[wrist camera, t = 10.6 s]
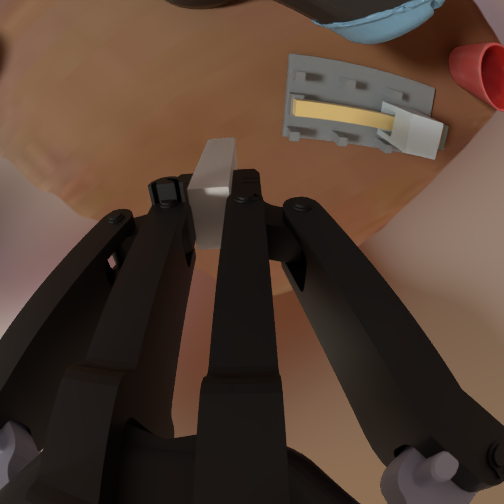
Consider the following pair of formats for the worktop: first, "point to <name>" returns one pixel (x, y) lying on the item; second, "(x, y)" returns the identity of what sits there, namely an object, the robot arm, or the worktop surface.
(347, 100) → the cable comb
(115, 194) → the worktop surface
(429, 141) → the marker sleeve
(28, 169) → the worktop surface
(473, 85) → the flower pot
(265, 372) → the robot arm
